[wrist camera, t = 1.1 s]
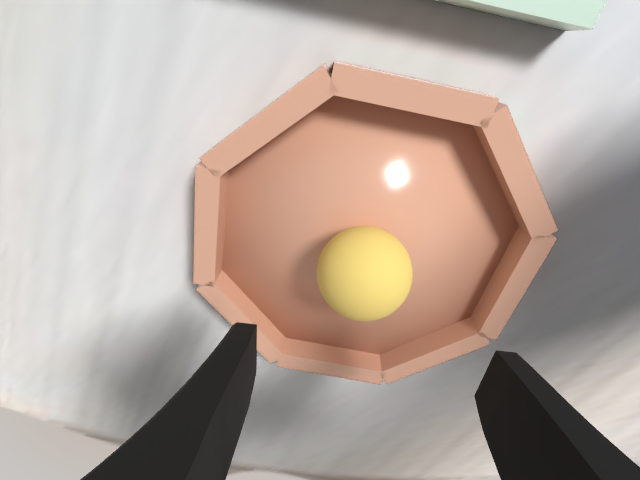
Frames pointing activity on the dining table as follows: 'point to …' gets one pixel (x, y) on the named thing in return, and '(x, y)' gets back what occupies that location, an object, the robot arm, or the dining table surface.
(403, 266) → the ball
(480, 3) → the tray
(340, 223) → the dish
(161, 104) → the dining table surface
